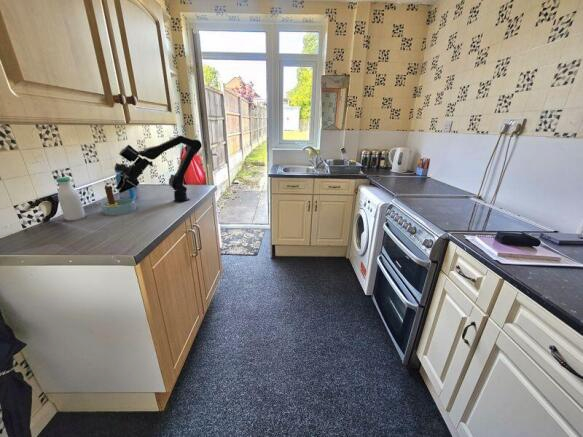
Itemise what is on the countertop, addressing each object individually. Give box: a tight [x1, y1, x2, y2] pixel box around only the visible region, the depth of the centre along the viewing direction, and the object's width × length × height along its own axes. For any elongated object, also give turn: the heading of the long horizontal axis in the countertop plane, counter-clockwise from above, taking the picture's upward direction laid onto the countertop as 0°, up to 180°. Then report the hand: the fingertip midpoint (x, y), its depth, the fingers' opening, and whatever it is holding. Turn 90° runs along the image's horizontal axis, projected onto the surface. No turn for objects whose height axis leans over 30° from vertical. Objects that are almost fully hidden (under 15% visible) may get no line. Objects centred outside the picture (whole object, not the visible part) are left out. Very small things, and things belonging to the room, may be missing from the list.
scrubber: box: [104, 185, 118, 206], centre depth 127 cm, size 4×4×13 cm
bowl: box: [100, 198, 137, 216], centre depth 130 cm, size 15×15×5 cm
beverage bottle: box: [114, 166, 137, 200], centre depth 148 cm, size 8×8×20 cm
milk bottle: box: [56, 176, 86, 221], centre depth 116 cm, size 8×8×20 cm
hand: (118, 190), depth 128 cm, fingers open, 9 cm apart
